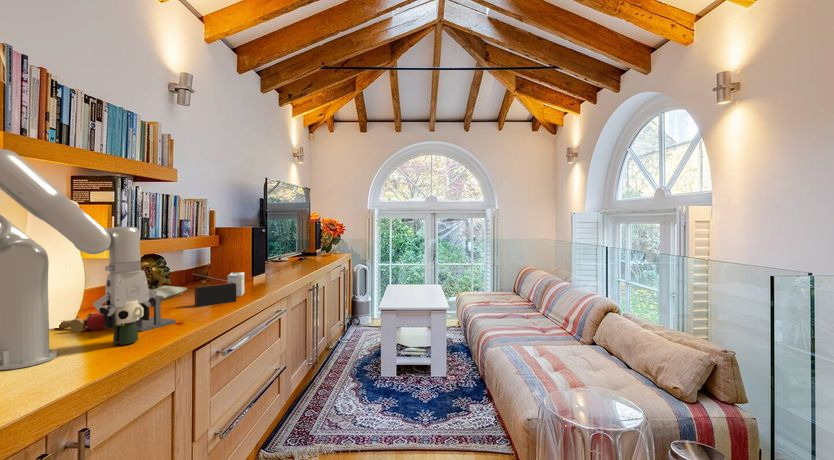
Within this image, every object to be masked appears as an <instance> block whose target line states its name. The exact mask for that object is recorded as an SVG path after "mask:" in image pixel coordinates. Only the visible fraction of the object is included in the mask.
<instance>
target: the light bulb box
mask: <svg viewBox="0 0 834 460" xmlns="http://www.w3.org/2000/svg"><path fill="white" fill-rule="evenodd" d="M227 281H230V282H227V283H231V282H233V283H236V297H242V296H243V295H244V294H245V271H243V272H242V271H240V272H230V274H228V275H227Z"/></svg>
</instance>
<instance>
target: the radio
mask: <svg viewBox="0 0 834 460" xmlns="http://www.w3.org/2000/svg"><path fill="white" fill-rule="evenodd" d="M190 274H191V275H193V273H192V272H191V273H190ZM194 275H196V276H198V274H196V273H194ZM199 276H201V277H206V278H209V279H215V280H219V281H223V282H226V283H219V284H210V285H202V286H194V307H196V308H202V307H208V306H216V305H223V304H229V303H231V304H232V303H236V302H237V296H236V283H233V282H231V283H228V282H230V281H228V280H225V279H220V278H216V277H215V278H214V277H211V276H206V275H201V274H199Z"/></svg>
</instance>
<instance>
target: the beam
mask: <svg viewBox="0 0 834 460" xmlns="http://www.w3.org/2000/svg"><path fill="white" fill-rule="evenodd" d="M152 290H154V291H157V294H156V296H155V297H160V303H161V302H164V301H167V300H169V299H172V298H174V297H178V296H180V295H183V293H184V292H185V291H187V290H188V288H187V287H183V286H173V285H172V286H171V285H163V286H160V287H157V288H155V289H152ZM102 306H103V307H104V308H106V307H107V306H106V305H102ZM140 306H141V305H140ZM141 307H142V306H141ZM151 307H153V308H154V301H153V303H152V304H151Z"/></svg>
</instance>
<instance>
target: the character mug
mask: <svg viewBox="0 0 834 460" xmlns="http://www.w3.org/2000/svg"><path fill="white" fill-rule="evenodd" d="M111 305H112V304H111ZM113 315H114V316H115V329H114V330H113V332H114V333H113V338H112V345H117V343H118V345H129V344H132V343H134V342H136V341H138V340H139V331H137V326H136V324H135V321H137V320H139V318H140V317H143V307H141V306H140V304H138V300H136V301H131V302H126V303H125V306H124V307H122V308H117V309H116V310H115V312H114V313H113Z"/></svg>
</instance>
